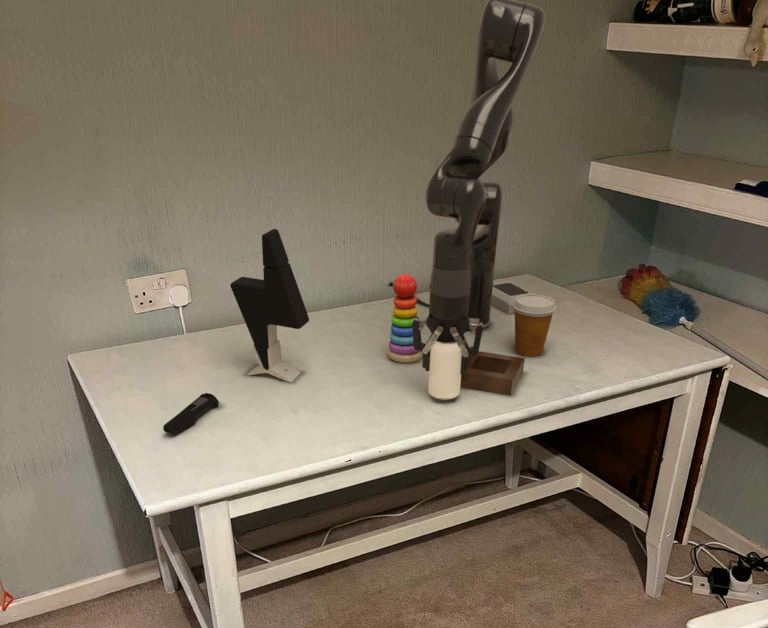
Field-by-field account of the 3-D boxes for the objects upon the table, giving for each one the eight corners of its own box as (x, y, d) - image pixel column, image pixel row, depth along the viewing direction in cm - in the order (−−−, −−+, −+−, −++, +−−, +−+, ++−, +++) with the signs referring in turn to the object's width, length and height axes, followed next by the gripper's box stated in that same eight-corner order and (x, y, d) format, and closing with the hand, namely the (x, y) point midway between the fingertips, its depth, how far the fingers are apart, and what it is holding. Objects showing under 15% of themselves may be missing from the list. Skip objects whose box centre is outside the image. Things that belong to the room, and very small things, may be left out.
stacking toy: (408, 347, 179) (410, 266, 169) (429, 359, 174) (433, 276, 164) (380, 355, 176) (381, 273, 165) (401, 367, 170) (404, 283, 160)
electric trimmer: (158, 437, 143) (156, 422, 141) (205, 402, 155) (203, 387, 153) (176, 441, 142) (173, 426, 140) (221, 405, 154) (219, 391, 152)
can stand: (454, 386, 163) (456, 370, 161) (469, 364, 172) (471, 349, 170) (510, 395, 159) (512, 380, 157) (523, 373, 169) (524, 358, 167)
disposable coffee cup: (553, 347, 181) (561, 297, 174) (543, 362, 173) (550, 310, 167) (514, 340, 184) (520, 291, 177) (502, 354, 177) (508, 303, 170)
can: (457, 401, 154) (461, 345, 147) (425, 398, 155) (428, 342, 148) (461, 388, 159) (465, 332, 153) (430, 385, 160) (433, 330, 154)
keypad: (508, 277, 211) (540, 294, 200) (507, 291, 213) (538, 308, 202) (478, 282, 208) (509, 299, 197) (477, 295, 210) (508, 313, 199)
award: (312, 374, 167) (306, 231, 150) (302, 384, 162) (295, 238, 145) (249, 364, 170) (236, 223, 154) (238, 373, 166) (223, 230, 149)
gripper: (489, 285, 147) (482, 366, 157) (415, 280, 149) (412, 360, 159) (486, 298, 141) (479, 382, 150) (409, 292, 143) (406, 375, 153)
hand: (445, 370), depth 155 cm, fingers closed on can, 6 cm apart
